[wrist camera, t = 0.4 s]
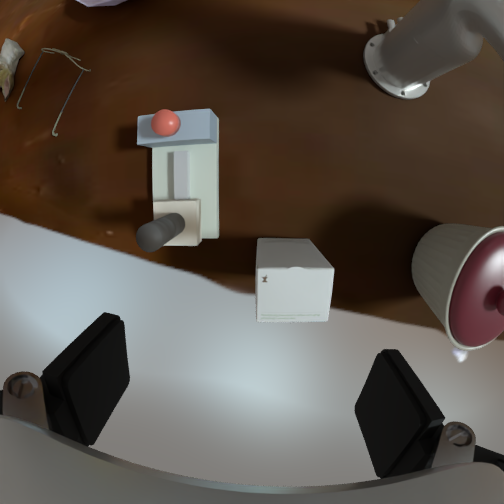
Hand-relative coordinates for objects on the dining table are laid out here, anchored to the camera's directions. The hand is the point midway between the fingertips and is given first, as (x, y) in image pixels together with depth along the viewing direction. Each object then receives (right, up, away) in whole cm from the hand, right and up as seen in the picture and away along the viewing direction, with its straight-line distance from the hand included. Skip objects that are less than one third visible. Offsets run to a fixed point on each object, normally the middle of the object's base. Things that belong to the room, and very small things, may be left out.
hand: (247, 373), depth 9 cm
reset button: (-10, +20, +22) cm, 32 cm away
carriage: (-10, +9, +32) cm, 35 cm away
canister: (+33, +3, +34) cm, 47 cm away
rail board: (-10, +15, +32) cm, 37 cm away
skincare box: (+5, +4, +35) cm, 35 cm away
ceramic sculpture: (-56, +46, +26) cm, 77 cm away
